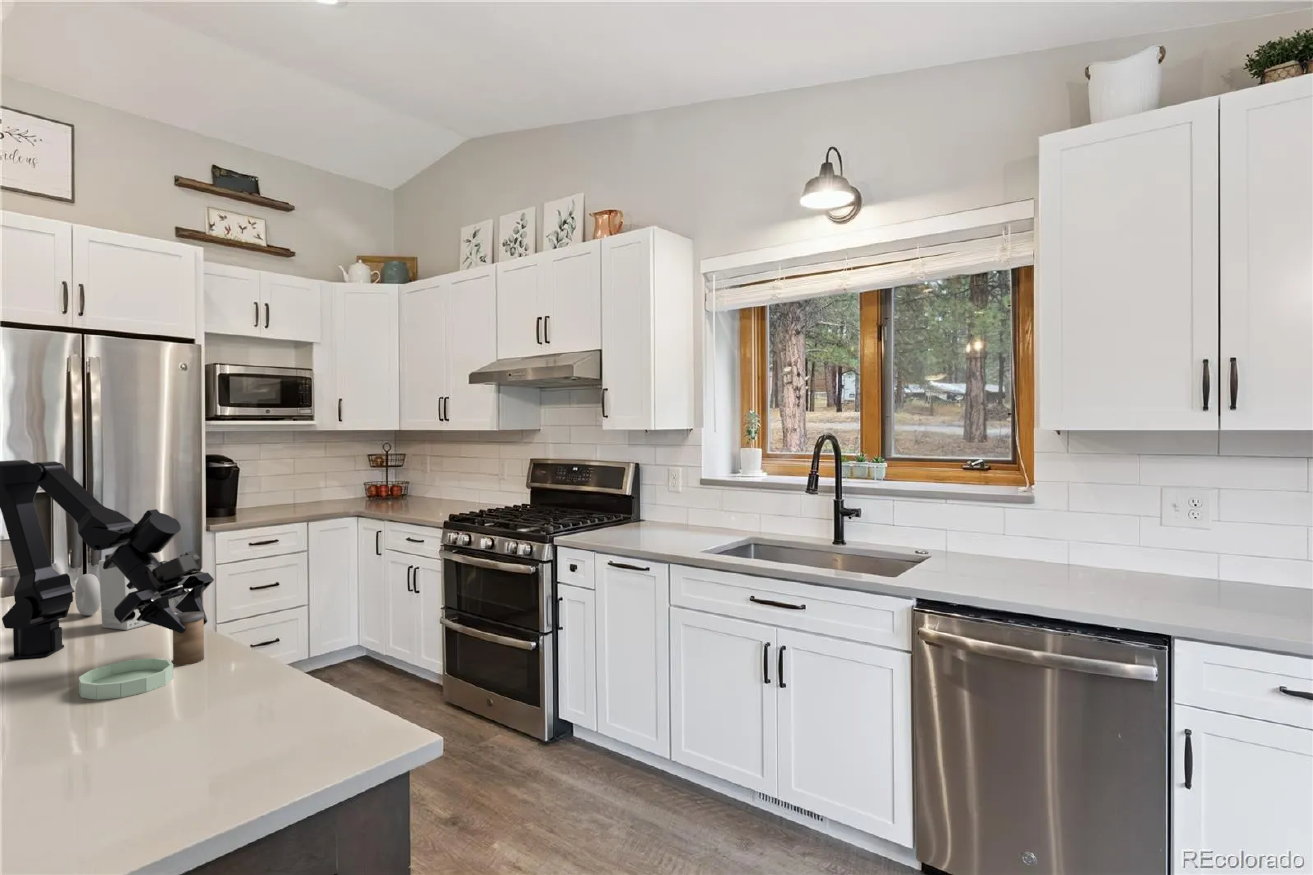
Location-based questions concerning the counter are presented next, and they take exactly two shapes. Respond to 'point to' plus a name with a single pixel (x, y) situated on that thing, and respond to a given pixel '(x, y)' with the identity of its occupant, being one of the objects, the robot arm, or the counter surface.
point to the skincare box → (115, 598)
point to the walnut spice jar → (189, 639)
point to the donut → (87, 594)
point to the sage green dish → (125, 678)
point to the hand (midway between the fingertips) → (194, 627)
